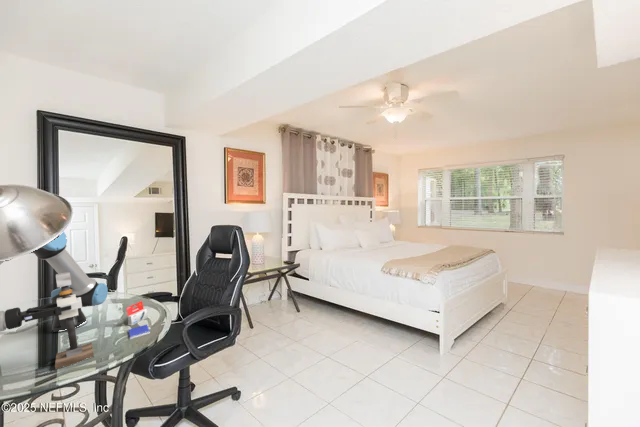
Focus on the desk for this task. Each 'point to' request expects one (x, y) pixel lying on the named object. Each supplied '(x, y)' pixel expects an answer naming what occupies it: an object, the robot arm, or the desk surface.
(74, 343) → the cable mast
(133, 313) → the ink cartridge box
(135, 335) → the hard drive
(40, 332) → the desk surface
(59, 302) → the sleeve
